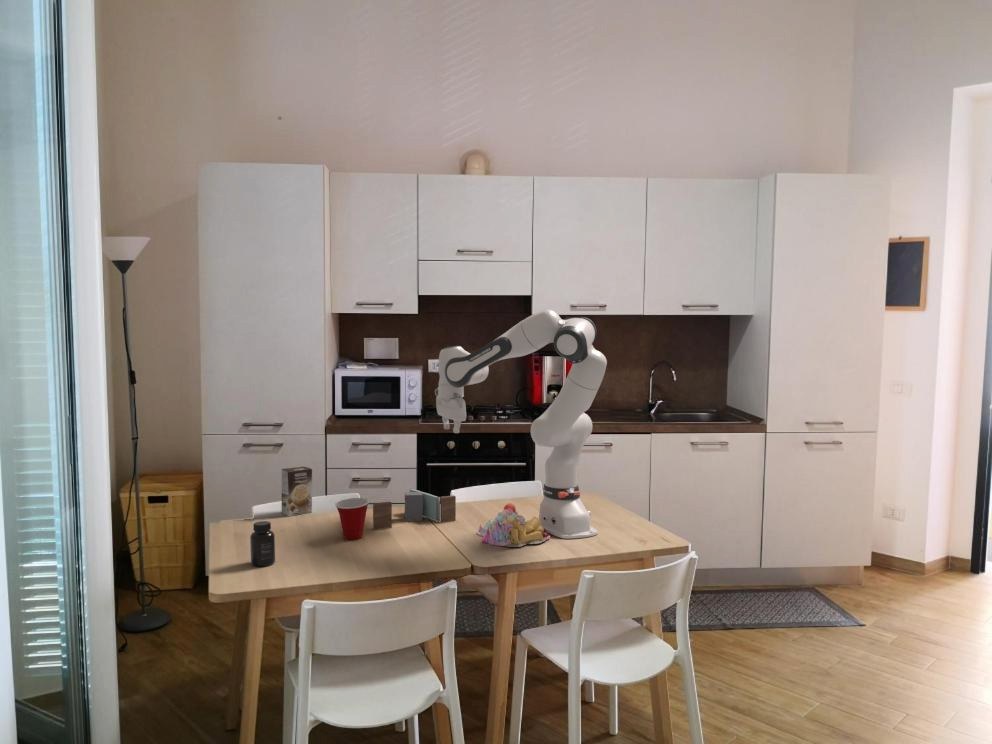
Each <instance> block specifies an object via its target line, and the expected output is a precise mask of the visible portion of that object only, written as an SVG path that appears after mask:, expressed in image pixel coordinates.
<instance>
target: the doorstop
mask: <svg viewBox="0 0 992 744" xmlns="http://www.w3.org/2000/svg"><path fill="white" fill-rule="evenodd" d="M422 492H423V491H421V492H410V491H409V492H404V521H406V522H409V521H411V522H412V521H413V522H414V521H423V517H424V516H423V495H422Z"/></svg>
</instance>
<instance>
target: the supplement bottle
mask: <svg viewBox="0 0 992 744" xmlns="http://www.w3.org/2000/svg"><path fill="white" fill-rule="evenodd" d="M252 527H253V532H252V533H251V534H250V537H249V538H250V539H249V540H250V545H249V546H250V547H249V548H250V564H251V566H253V567H259V568H260V567H261V568H262V567H263V568H264V567H269V566H272V565H274V564H275V562H276V546H275V545H276V544H275V543H276V541H275V537H276V536H275V533H274V531H272V530H271V529H272V524H271V521H268V520H262V521H255V522H254V523H253V526H252Z"/></svg>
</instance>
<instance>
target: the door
mask: <svg viewBox="0 0 992 744" xmlns="http://www.w3.org/2000/svg"><path fill="white" fill-rule="evenodd" d="M409 492H422V495H423V517H425V518H429V520H433V521H437V522H441V521H440V509H441V496H436V495H433V494H431V493H428V492H423V491H421V490H417V489H414V488H409Z"/></svg>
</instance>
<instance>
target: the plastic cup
mask: <svg viewBox="0 0 992 744" xmlns="http://www.w3.org/2000/svg"><path fill="white" fill-rule="evenodd" d="M369 503H370V500H369V499H368V498H365V497H353V498H345V499H340V500H338V501H337V502H335V504H334V506H335V507H336V509H337V512H338V515H339V519H340V526H341V529H342V535H343V539H345V540H347V541H357V540H361V539H362V538H363V533H364V530H365V521H366V516H367V511H368V505H369Z"/></svg>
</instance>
